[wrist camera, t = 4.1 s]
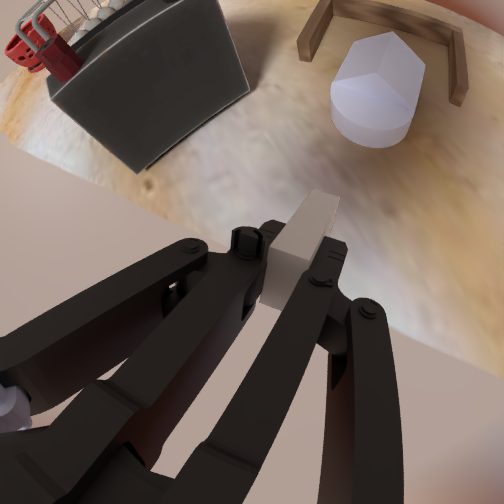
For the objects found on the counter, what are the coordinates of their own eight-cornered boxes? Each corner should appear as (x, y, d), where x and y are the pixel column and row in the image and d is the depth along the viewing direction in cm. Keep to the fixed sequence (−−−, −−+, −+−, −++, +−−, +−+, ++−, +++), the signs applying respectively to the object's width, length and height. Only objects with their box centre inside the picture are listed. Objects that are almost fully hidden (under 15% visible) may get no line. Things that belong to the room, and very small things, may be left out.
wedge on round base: (353, 60, 32) (318, 130, 30) (354, 20, 25) (316, 87, 24) (420, 83, 29) (398, 161, 28) (431, 44, 23) (414, 122, 21)
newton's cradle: (141, -8, 50) (111, -56, 33) (171, -12, 47) (142, -67, 30) (57, 76, 47) (10, 28, 30) (81, 76, 44) (28, 20, 27)
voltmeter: (189, 49, 38) (135, -52, 19) (253, 97, 33) (198, -48, 14) (103, 113, 39) (22, 30, 20) (143, 180, 34) (22, 75, 15)
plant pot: (23, 80, 53) (-4, 57, 41) (51, 44, 55) (28, 19, 43) (45, 75, 49) (15, 46, 38) (76, 36, 51) (52, 7, 40)
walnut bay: (456, 45, 30) (461, 28, 26) (459, 106, 27) (468, 88, 24) (325, 9, 35) (324, -8, 32) (299, 60, 33) (296, 40, 30)
